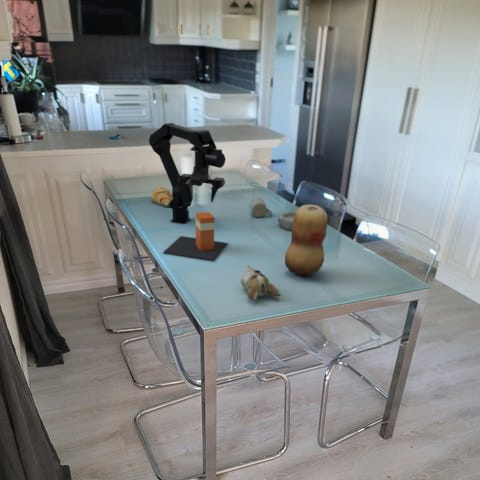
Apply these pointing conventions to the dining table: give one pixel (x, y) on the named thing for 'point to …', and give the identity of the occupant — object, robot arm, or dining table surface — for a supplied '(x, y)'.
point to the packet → (204, 231)
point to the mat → (194, 249)
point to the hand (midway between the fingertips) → (201, 200)
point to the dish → (286, 220)
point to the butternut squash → (307, 240)
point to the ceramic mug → (259, 207)
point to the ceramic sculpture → (257, 284)
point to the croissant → (161, 196)
